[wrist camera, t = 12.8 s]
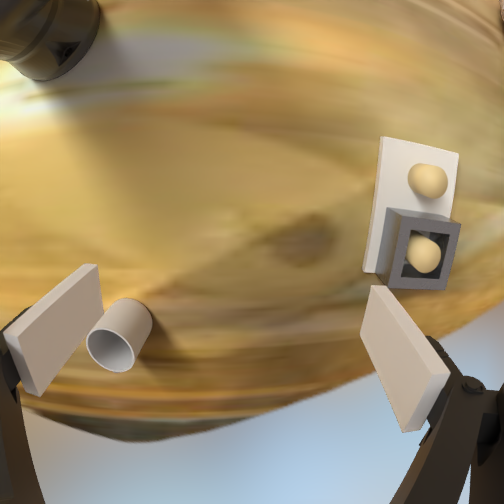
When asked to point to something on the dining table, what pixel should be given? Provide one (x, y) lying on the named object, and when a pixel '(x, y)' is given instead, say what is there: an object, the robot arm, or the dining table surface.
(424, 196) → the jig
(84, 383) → the dining table surface
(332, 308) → the dining table surface
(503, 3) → the vase
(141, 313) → the cup
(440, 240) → the collar
